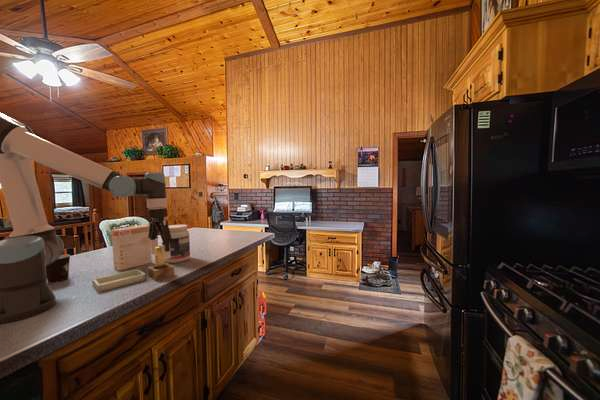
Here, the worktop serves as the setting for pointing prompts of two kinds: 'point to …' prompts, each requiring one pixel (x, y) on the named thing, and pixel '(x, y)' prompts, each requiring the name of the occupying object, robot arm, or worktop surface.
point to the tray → (118, 280)
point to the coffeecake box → (131, 247)
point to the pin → (159, 258)
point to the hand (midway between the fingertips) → (160, 256)
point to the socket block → (160, 272)
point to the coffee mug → (58, 269)
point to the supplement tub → (179, 244)
